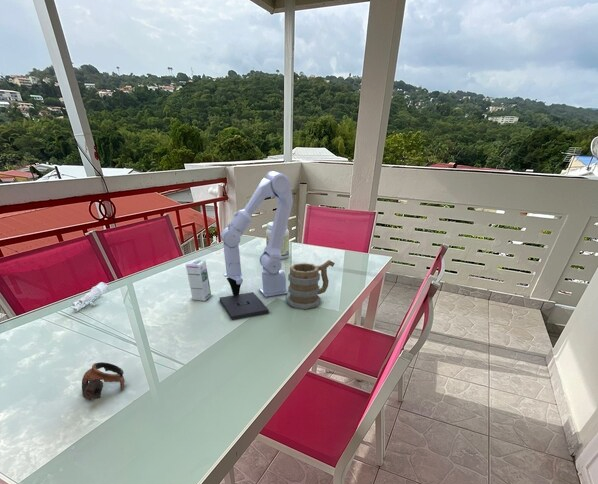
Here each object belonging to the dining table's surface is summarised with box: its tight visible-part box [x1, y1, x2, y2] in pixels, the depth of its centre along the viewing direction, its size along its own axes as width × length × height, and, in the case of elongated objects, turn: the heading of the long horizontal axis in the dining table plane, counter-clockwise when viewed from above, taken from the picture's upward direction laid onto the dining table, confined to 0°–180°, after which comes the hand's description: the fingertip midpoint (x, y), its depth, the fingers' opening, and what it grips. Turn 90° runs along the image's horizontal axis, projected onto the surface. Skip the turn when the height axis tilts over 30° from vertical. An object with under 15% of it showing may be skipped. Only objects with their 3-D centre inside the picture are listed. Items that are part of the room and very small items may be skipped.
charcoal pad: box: [224, 298, 269, 321], centre depth 124 cm, size 14×10×2 cm
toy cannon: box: [71, 281, 110, 313], centre depth 126 cm, size 8×14×5 cm
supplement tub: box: [265, 221, 290, 260], centre depth 175 cm, size 12×12×17 cm
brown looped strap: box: [81, 361, 126, 401], centre depth 83 cm, size 12×9×8 cm
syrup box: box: [185, 259, 212, 302], centre depth 130 cm, size 6×6×14 cm
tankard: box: [286, 259, 335, 310], centre depth 129 cm, size 20×13×15 cm, turn 117°
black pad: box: [219, 291, 260, 309], centre depth 130 cm, size 14×10×2 cm
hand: (236, 295), depth 134 cm, fingers closed
